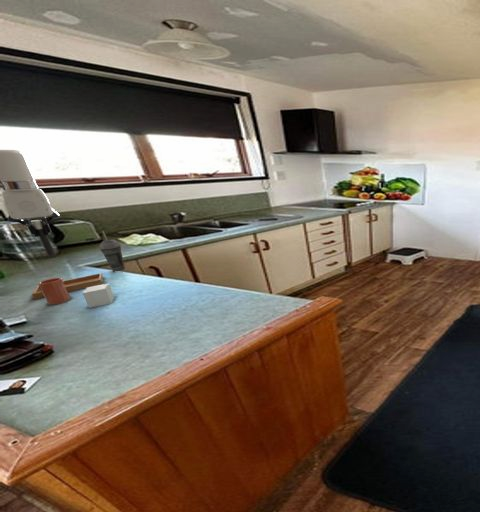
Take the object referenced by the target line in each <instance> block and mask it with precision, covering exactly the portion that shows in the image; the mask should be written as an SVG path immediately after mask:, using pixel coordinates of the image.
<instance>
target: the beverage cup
mask: <svg viewBox="0 0 480 512" xmlns="http://www.w3.org/2000/svg"><path fill="white" fill-rule="evenodd" d="M101 232H102V234H103V237H104V240H103V241H101V242H100V245H99V250H100V252H101V253H102V255H103V256H104V258H105V260H106V262H107V264H108V266H109V267H110V269H111V270H112V272H113V273H116V272H121V271H125V269H126V267H125V261H124V258H123V254H122V246H121V244H120V243H119V241H117V240H115V239H108V237H107V236H106V233H105V231H104V230H101Z"/></svg>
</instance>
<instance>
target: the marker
mask: <svg viewBox="0 0 480 512" xmlns="http://www.w3.org/2000/svg"><path fill="white" fill-rule="evenodd" d="M31 222H32V224H33V225H34V227H35V229H36V231H37V233H38V235H39V236H38V237H39V239H40V242H41V244H42V246H43V248H44V250H45V252H46V255H47V257H48V258H52V257H55V256H57V253H56V252H55V249H54V248H53V245H52V242H51V241H50V239H49V235H46V234H45V232H44V230H43V227H42V225H43V224H42V220H31Z"/></svg>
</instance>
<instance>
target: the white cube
mask: <svg viewBox="0 0 480 512" xmlns="http://www.w3.org/2000/svg"><path fill="white" fill-rule="evenodd" d="M82 295H83V297H84V300H85V302H86V304H87V306H88V308H89V309H90V308H94V307H100V306H103V305H108V304H112V303H113V301H114V299H115V295H114V292H113V289H112V288H111V284H110V282H108V283H103V284H101V285H96V286H92V287H87V288H84V290H83V292H82Z"/></svg>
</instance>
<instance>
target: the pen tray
mask: <svg viewBox="0 0 480 512" xmlns="http://www.w3.org/2000/svg"><path fill="white" fill-rule="evenodd" d="M102 273H103V272H100V273H96V274H91V275H90V274H89V275H85V276H81V277H77V278H76V277H75V278H71V279H65V280H63V282H64V284H65V286H66V288H67V291H68V293H69V292H75V291H78V290H82V289H86V288H87V287H92V286H97V285H102V284H104V275H103V274H102ZM31 296H32V298H33V300H37V299H42V298H45V296H44V294H43V292H42V290H41V288H40V286H39V285H37V286H36V287H35V288H34V290H33V292H32V293H31Z"/></svg>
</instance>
